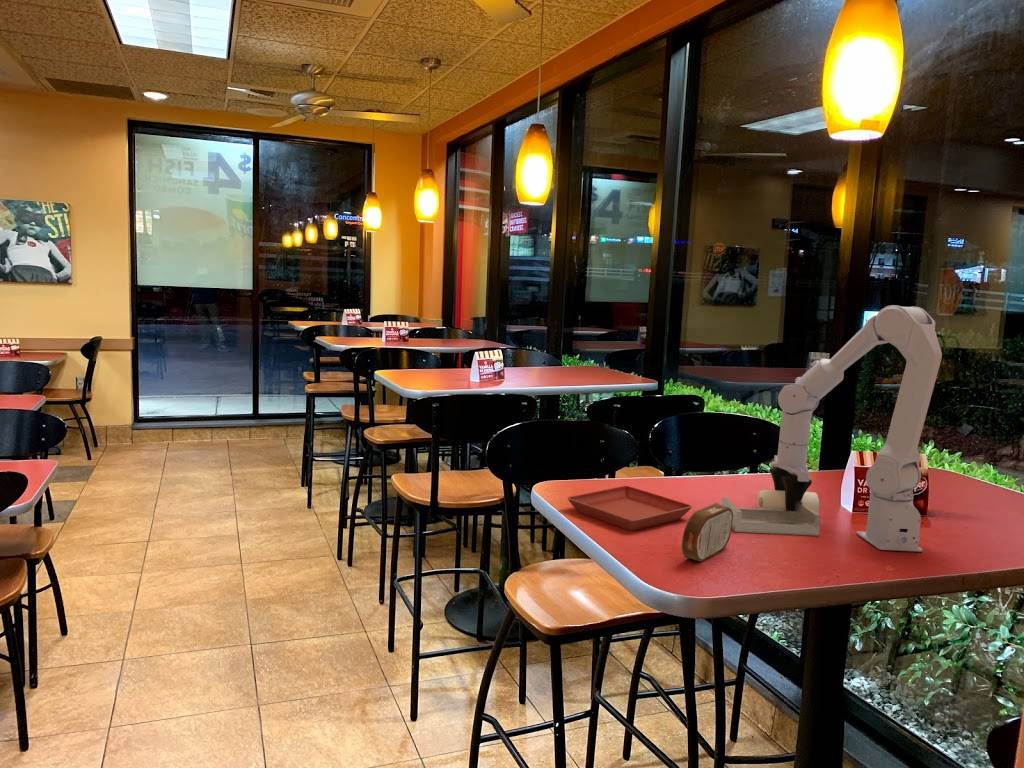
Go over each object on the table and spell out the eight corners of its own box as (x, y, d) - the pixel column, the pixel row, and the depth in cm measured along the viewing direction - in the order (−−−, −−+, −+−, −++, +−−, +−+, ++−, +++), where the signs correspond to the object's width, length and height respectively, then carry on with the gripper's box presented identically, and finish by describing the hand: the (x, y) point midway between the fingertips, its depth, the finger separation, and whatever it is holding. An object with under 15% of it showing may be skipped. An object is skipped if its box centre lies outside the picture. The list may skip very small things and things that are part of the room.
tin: (717, 543, 138) (721, 498, 137) (733, 547, 136) (737, 501, 135) (678, 563, 127) (682, 514, 126) (695, 568, 125) (699, 518, 124)
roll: (820, 518, 157) (821, 493, 157) (763, 515, 157) (764, 490, 157) (810, 515, 162) (811, 491, 162) (755, 512, 162) (756, 488, 162)
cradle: (818, 535, 146) (820, 515, 145) (734, 531, 146) (736, 511, 145) (798, 519, 156) (800, 500, 155) (720, 516, 156) (721, 497, 155)
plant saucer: (632, 537, 141) (633, 519, 140) (564, 512, 154) (565, 496, 154) (693, 521, 152) (694, 505, 152) (625, 500, 166) (626, 485, 166)
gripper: (762, 434, 165) (756, 496, 166) (787, 449, 150) (779, 516, 152) (795, 436, 165) (788, 497, 167) (822, 451, 150) (815, 518, 152)
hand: (786, 506), depth 159 cm, fingers closed on roll, 5 cm apart
